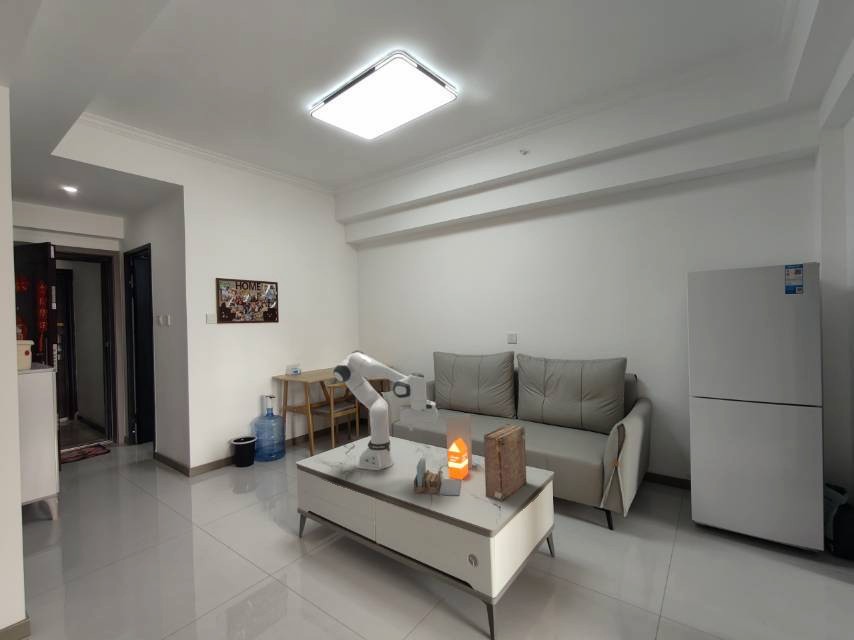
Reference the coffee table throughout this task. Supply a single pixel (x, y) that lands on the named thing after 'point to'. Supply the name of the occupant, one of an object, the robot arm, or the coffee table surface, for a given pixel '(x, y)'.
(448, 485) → the mat
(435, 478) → the offcut
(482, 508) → the coffee table surface
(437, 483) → the rack
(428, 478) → the offcut
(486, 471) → the book
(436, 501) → the coffee table surface
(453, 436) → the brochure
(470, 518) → the coffee table surface
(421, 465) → the light blue slab
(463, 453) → the orange juice
